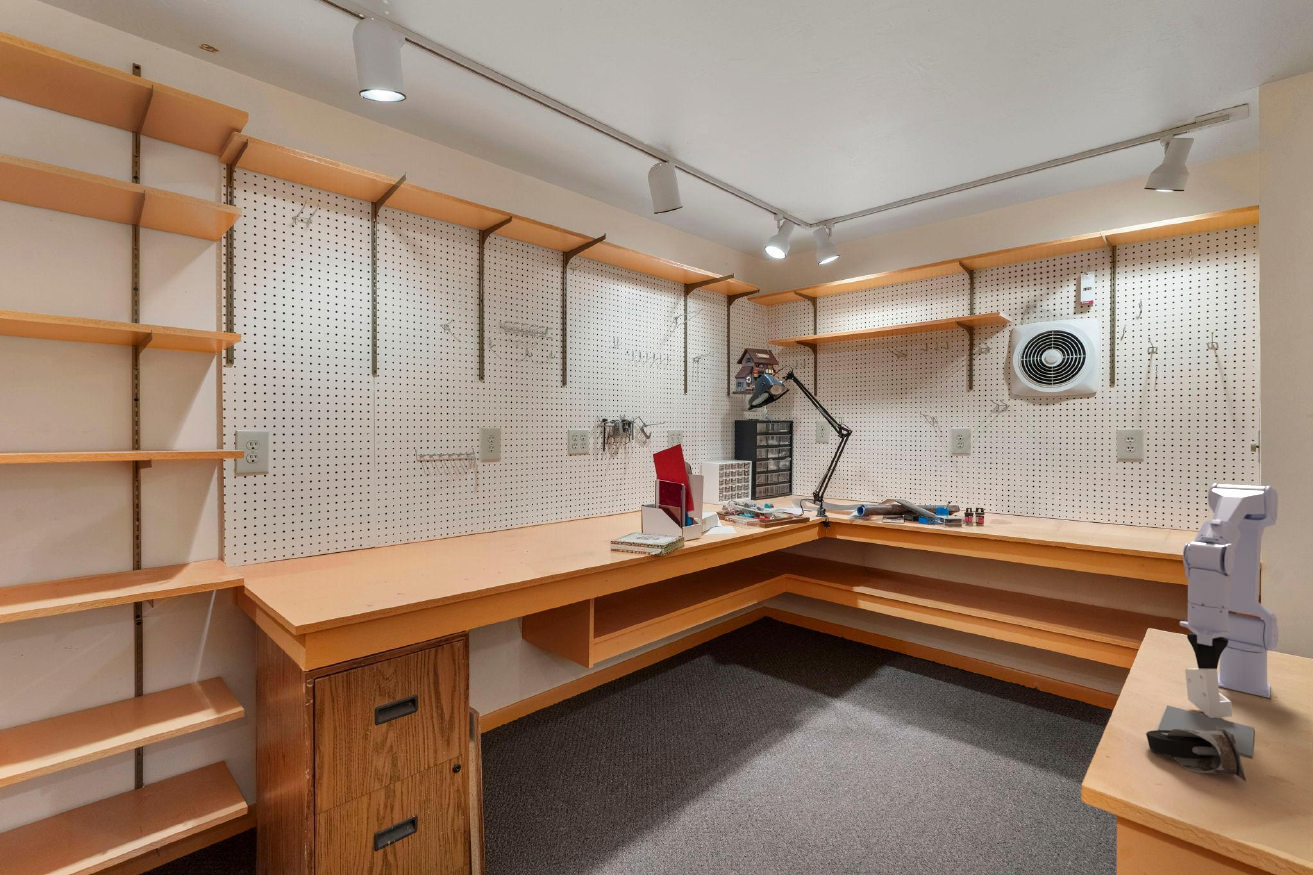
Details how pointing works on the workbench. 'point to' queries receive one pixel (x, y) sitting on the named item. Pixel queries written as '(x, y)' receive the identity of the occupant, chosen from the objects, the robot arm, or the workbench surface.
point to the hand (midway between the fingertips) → (1207, 673)
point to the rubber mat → (1208, 727)
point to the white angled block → (1207, 693)
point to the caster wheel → (1199, 750)
